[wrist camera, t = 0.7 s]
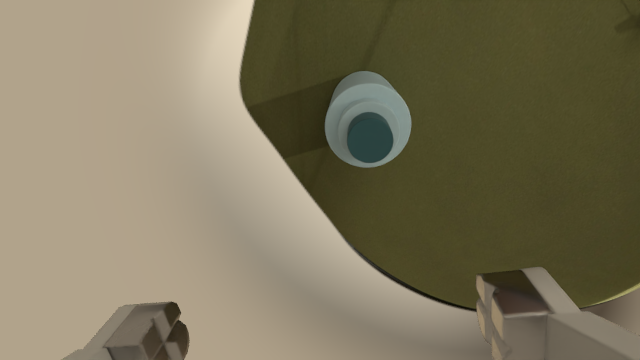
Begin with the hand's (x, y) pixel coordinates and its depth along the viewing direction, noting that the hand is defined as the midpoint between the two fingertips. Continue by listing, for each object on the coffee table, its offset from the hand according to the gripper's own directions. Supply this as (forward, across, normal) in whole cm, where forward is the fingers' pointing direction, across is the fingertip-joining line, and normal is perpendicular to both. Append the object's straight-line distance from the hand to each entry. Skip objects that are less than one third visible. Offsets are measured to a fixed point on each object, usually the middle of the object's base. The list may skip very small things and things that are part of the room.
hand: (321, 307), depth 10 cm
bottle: (+24, -2, -1) cm, 25 cm away
